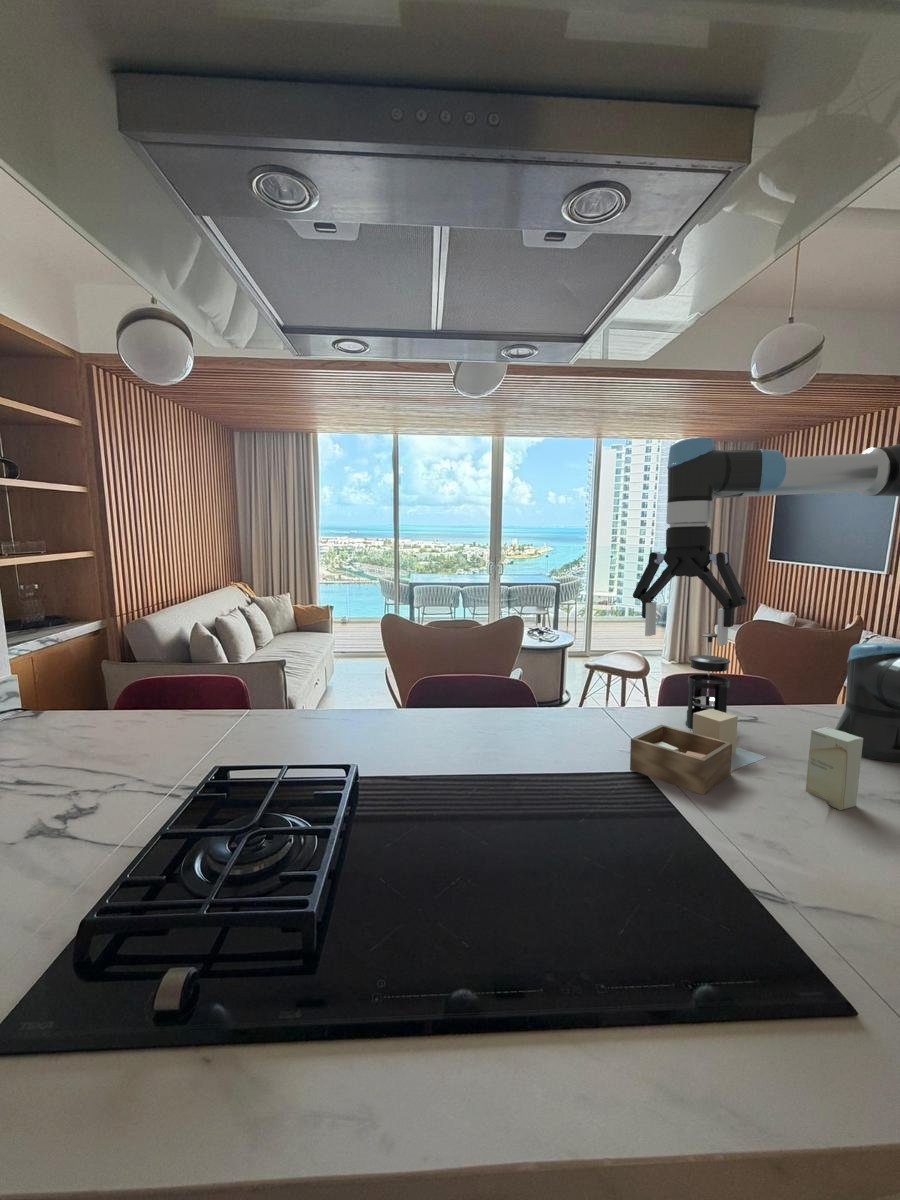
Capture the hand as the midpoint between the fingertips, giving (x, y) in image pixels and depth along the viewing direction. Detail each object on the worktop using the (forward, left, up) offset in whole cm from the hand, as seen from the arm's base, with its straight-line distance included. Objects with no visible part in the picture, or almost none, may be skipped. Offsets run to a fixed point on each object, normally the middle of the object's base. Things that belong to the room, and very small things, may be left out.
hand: (684, 639), depth 98 cm
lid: (0, -15, -27) cm, 31 cm away
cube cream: (+3, 0, -26) cm, 26 cm away
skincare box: (-22, -10, -27) cm, 36 cm away
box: (0, 0, -27) cm, 27 cm away
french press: (+8, -31, -27) cm, 42 cm away
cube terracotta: (-3, 0, -26) cm, 26 cm away
